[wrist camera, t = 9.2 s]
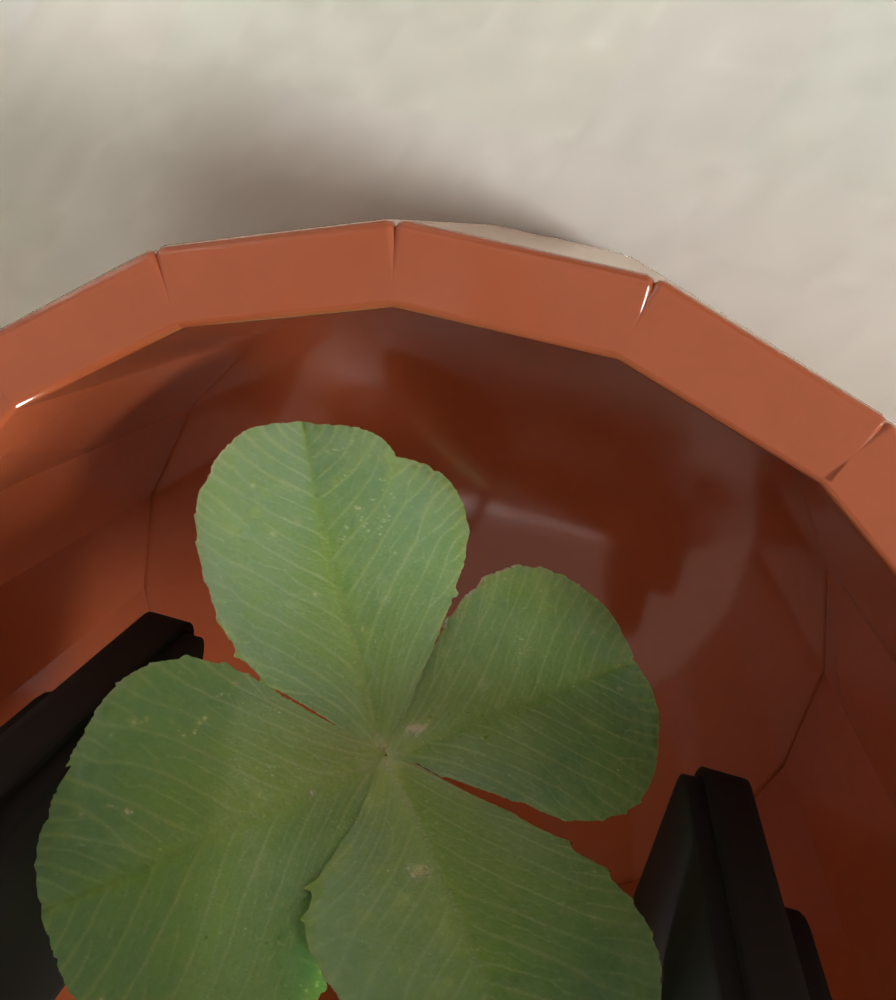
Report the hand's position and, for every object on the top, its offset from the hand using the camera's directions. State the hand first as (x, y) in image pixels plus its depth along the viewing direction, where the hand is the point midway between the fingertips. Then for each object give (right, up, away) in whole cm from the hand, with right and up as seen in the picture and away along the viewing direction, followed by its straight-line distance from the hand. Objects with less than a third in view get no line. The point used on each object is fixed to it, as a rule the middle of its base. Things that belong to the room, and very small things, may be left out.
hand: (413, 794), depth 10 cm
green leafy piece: (-1, +2, +2) cm, 3 cm away
